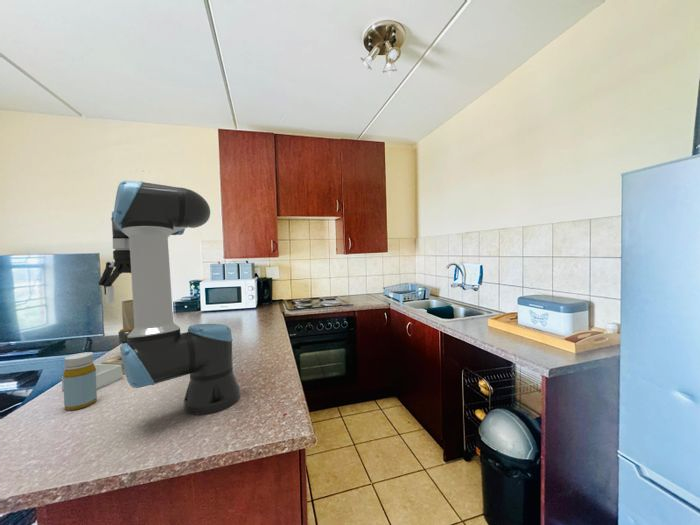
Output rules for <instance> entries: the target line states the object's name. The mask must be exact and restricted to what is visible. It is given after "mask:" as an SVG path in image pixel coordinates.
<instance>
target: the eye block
mask: <svg viewBox="0 0 700 525" xmlns="http://www.w3.org/2000/svg"><path fill="white" fill-rule="evenodd" d="M100 364H110V365H122V375H126V374H125V370H124V367H123V362H122V358H121V355H119V356H116V357H113V358H110V359H108V360H105V361H102V362H101V363H100Z"/></svg>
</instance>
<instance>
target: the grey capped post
mask: <svg viewBox="0 0 700 525" xmlns="http://www.w3.org/2000/svg"><path fill="white" fill-rule="evenodd" d="M132 331H133V329H123V328H121V329H119V331H118V343H120V344H121V345H123V344H124V343H128V338H127V336H128V335H129V334H130V333H131V332H132Z"/></svg>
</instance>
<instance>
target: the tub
mask: <svg viewBox="0 0 700 525" xmlns="http://www.w3.org/2000/svg"><path fill="white" fill-rule="evenodd" d="M94 366H95V367H96V389H97V391H99V390H100V389H102V388H104V387H106V386H109V385H112V384H113V383H114V384H115V383H116V382H118V381H120V380H123V374H122V365H110V364H101V363H95V364H94ZM61 385H62V386H61V389H62V390H61V391H62V392H64V384H63V375H62V376H61Z"/></svg>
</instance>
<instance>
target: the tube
mask: <svg viewBox="0 0 700 525" xmlns="http://www.w3.org/2000/svg"><path fill="white" fill-rule="evenodd" d="M121 314H122V316H121V318H122V329H134V312H133V299H126V300H123V301H121Z"/></svg>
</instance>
